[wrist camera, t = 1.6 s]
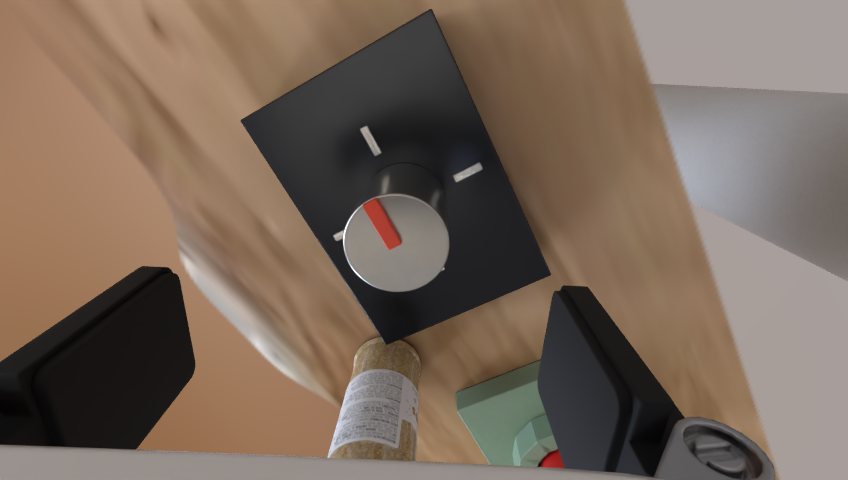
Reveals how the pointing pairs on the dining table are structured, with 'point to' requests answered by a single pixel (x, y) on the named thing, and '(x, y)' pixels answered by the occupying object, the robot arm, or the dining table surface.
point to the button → (552, 460)
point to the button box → (508, 418)
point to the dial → (399, 229)
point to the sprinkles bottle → (380, 404)
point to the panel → (392, 144)
